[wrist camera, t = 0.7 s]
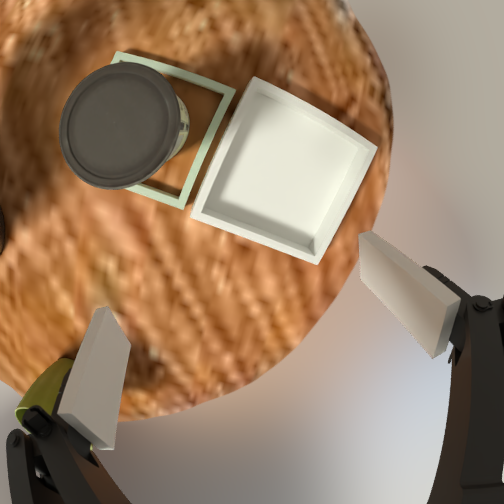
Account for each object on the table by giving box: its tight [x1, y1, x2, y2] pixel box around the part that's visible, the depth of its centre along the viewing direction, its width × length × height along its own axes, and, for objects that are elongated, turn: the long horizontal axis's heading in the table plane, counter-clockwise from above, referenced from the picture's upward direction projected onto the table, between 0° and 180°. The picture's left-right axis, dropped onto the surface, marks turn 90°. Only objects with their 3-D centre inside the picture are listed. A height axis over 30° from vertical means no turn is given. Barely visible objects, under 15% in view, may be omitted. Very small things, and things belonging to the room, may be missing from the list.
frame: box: [111, 51, 236, 210], centre depth 30 cm, size 16×16×2 cm
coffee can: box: [59, 62, 190, 190], centre depth 24 cm, size 10×10×14 cm
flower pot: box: [15, 358, 93, 450], centre depth 37 cm, size 15×15×16 cm
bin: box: [190, 76, 378, 265], centre depth 34 cm, size 18×18×4 cm
